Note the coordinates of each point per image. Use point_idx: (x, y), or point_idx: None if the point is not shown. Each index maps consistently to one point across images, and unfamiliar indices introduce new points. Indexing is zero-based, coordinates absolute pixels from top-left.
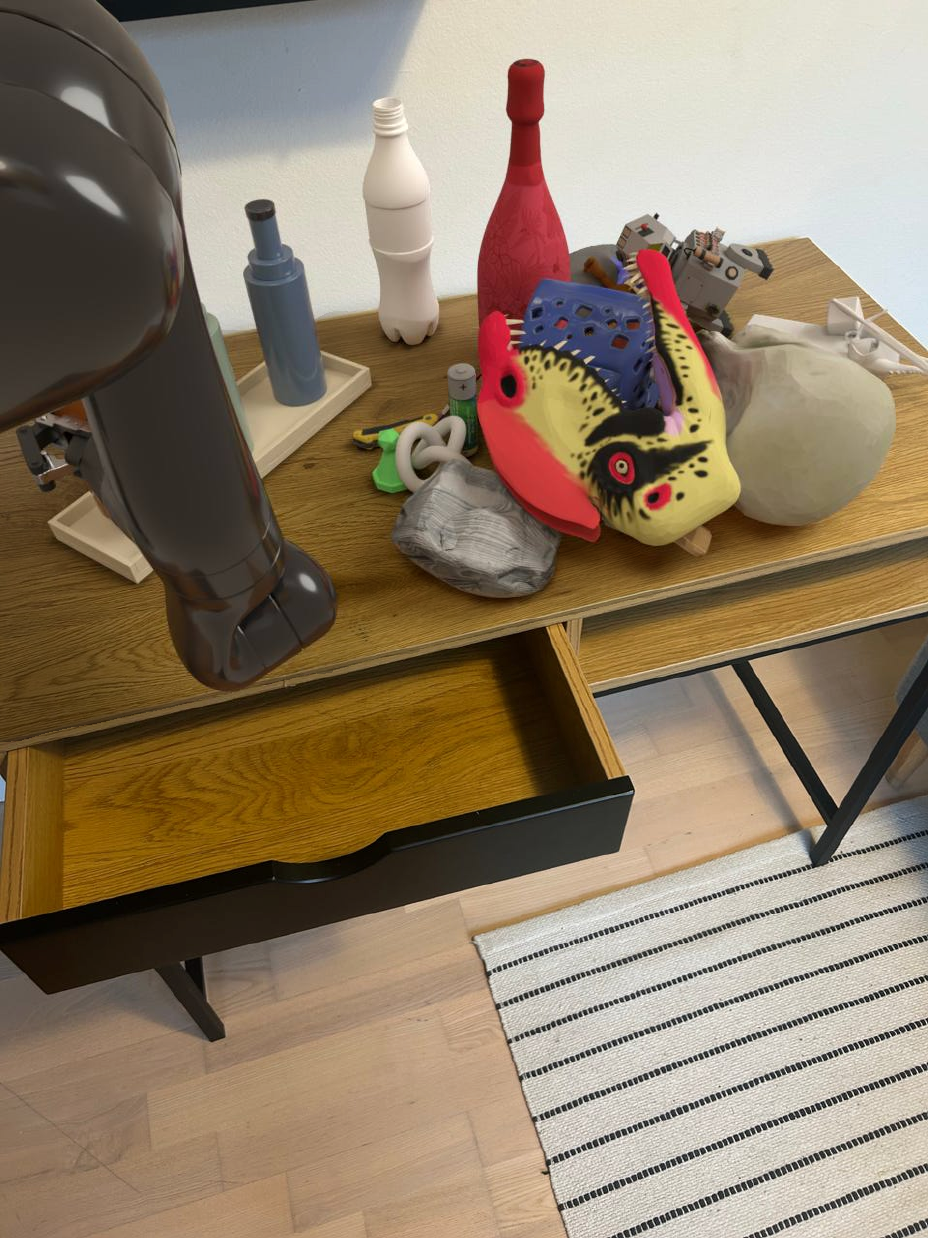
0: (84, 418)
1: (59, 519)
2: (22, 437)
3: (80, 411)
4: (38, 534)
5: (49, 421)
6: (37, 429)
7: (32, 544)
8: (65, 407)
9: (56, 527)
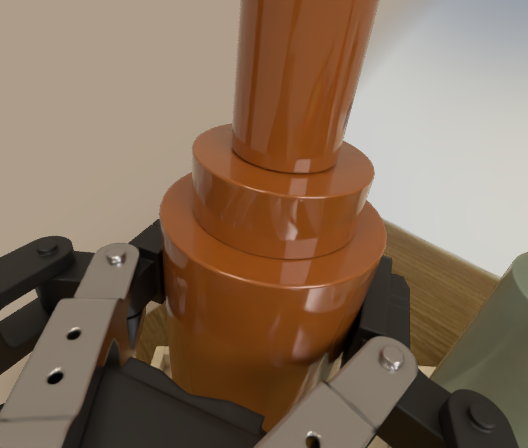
0: (185, 337)
1: (167, 356)
2: (5, 264)
3: (184, 317)
4: (160, 338)
5: (99, 278)
6: (81, 270)
7: (141, 344)
8: (166, 278)
9: (151, 364)
